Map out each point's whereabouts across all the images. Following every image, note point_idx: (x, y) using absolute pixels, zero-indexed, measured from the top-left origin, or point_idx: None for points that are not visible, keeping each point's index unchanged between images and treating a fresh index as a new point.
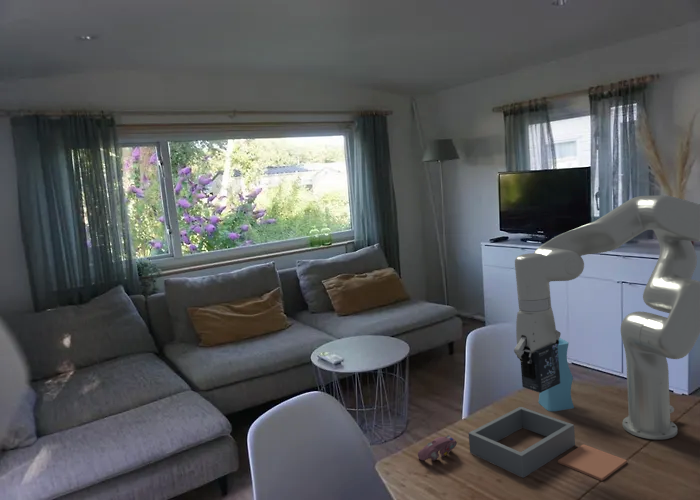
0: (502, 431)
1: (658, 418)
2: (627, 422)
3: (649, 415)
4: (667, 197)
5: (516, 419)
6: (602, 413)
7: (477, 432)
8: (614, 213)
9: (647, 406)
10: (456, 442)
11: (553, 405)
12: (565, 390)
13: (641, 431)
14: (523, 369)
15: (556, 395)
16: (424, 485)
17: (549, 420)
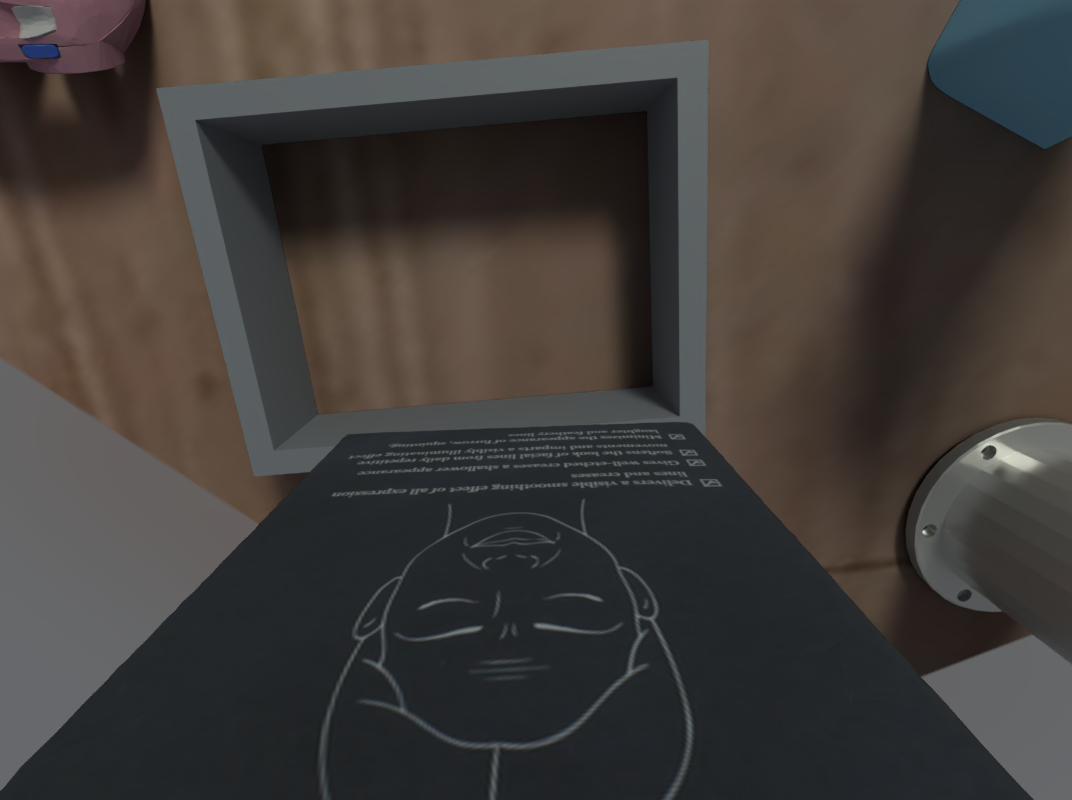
0: (470, 117)
1: (1021, 625)
2: (993, 456)
3: (1015, 612)
4: None
5: (609, 97)
6: (1055, 295)
7: (220, 119)
8: None
9: (1057, 640)
10: (101, 70)
11: (974, 76)
12: None
13: (938, 535)
14: None
15: (1057, 64)
16: None
17: (676, 304)
